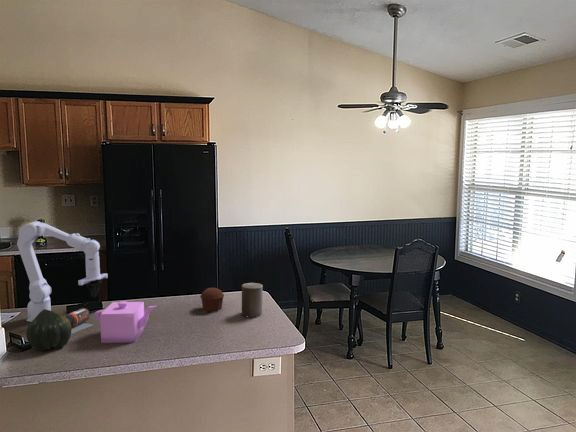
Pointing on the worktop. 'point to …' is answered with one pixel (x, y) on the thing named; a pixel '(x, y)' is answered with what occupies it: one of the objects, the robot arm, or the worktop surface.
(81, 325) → the mat
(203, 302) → the muffin
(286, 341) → the worktop surface
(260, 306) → the grey lidded canister
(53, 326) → the squash
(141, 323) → the teapot
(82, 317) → the supplement bottle
